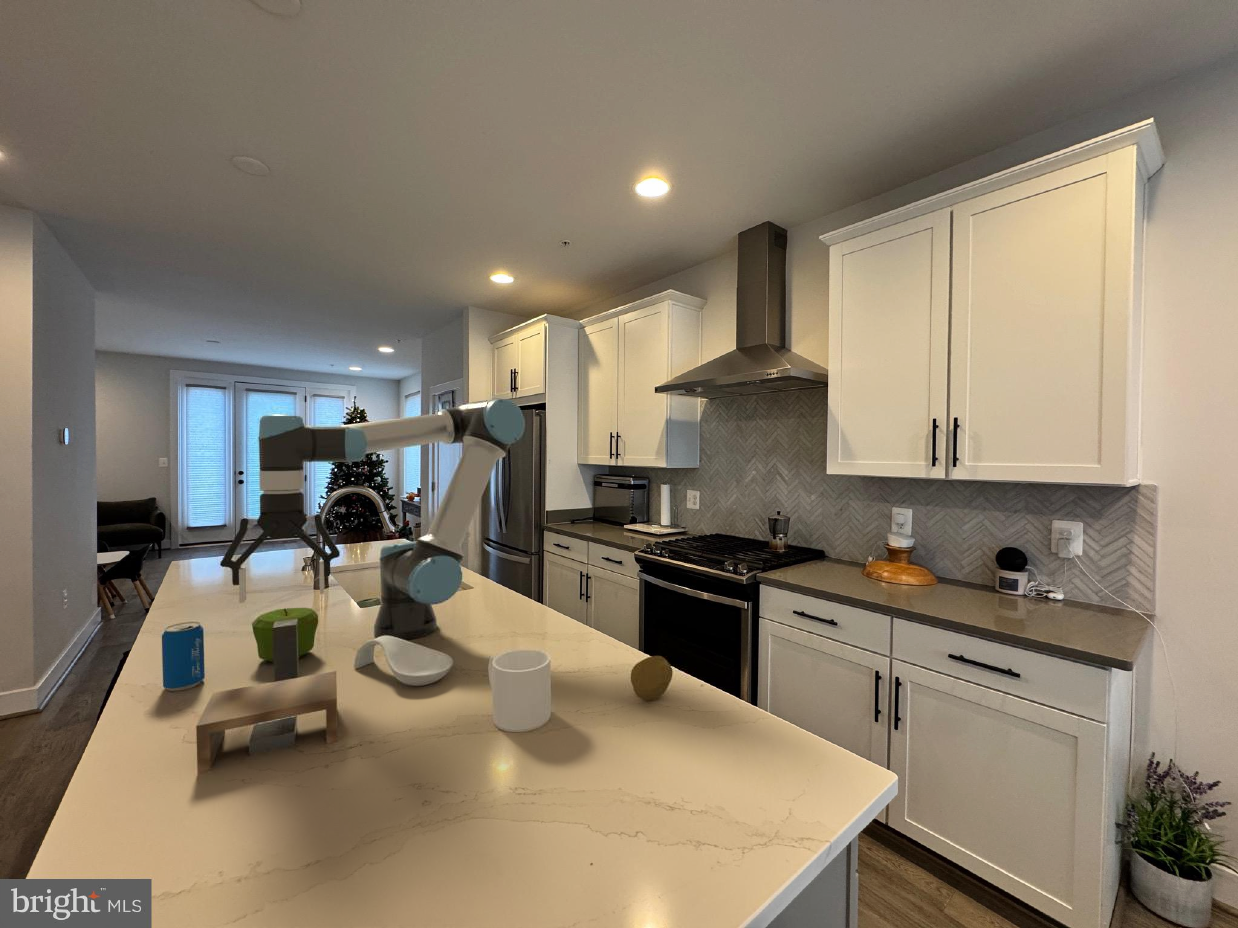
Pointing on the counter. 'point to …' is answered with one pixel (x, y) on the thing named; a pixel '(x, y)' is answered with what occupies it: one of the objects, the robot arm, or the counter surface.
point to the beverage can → (183, 656)
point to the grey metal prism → (285, 650)
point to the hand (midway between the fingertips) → (283, 596)
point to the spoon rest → (407, 660)
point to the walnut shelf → (264, 709)
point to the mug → (520, 689)
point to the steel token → (273, 735)
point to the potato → (651, 677)
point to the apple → (267, 620)
